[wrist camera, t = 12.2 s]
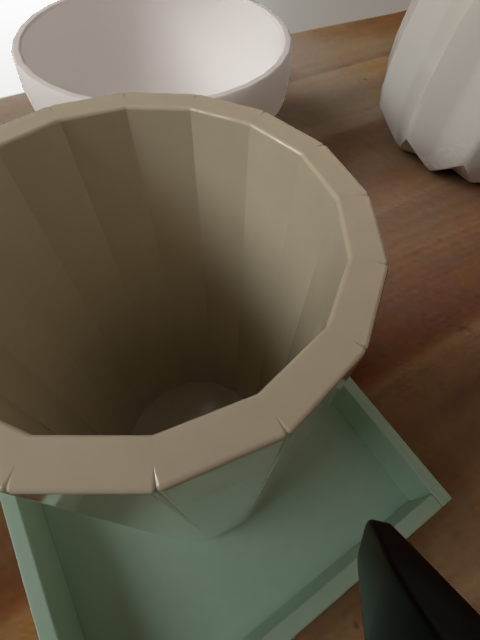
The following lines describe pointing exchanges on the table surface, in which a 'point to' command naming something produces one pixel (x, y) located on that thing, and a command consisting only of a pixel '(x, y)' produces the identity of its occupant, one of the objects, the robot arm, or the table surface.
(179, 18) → the bowl
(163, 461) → the rice cup
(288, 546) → the serving tray
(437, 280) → the table surface
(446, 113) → the vase
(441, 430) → the table surface
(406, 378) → the table surface
